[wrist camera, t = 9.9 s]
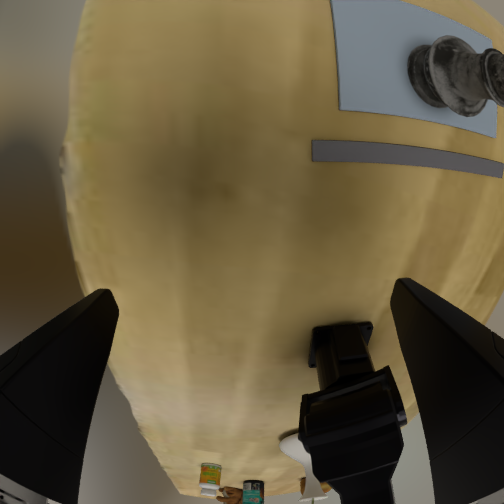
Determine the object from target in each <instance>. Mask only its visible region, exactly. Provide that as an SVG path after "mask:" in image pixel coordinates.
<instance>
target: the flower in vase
mask: <svg viewBox="0 0 504 504" xmlns="http://www.w3.org/2000/svg"><path fill="white" fill-rule="evenodd" d="M279 447H280V449H281V451H282V452H284V453H285V454H286V455H288V456H289V457H291V458H293V459H295V460H296V461H298V462H300V463H301V464H302V465H303V466H304V468H305V473H306V484H305V490H304V493H303V495H302V497H301V498H300V499H299V501H312V504H314V500H320V499H324V498H328V496H327V495H326V494H325V493H324V492H323V490H322V488H321V486H320V482H319V481H318V480H317V479H316V477H315V476H314V475H313V472H312V463H311V456H310V454H308V453H307V452H306V451H305V449H304V447H303V444H302V442H300V441H299V440H298V433H296V434H293V435H291V436H288V437H286V438H284V439H283V440H282V441H281V442H280V444H279Z"/></svg>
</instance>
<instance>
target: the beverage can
mask: <svg viewBox="0 0 504 504" xmlns="http://www.w3.org/2000/svg"><path fill="white" fill-rule="evenodd" d="M242 504H264V483H263V482H262V481H259V480H247V481H245V482H244V483H243V501H242Z"/></svg>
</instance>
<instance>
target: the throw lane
mask: <svg viewBox="0 0 504 504" xmlns="http://www.w3.org/2000/svg"><path fill="white" fill-rule="evenodd" d="M330 3H331V10H332V17H333V26H334V35H335V45H336V57H337V72H338V91H339V110H350V111H362V112H372V113H381V114H389V115H397V116H403V117H410V118H416V119H421V120H426V121H432V122H436V123H441V124H446V125H450V126H454V127H458V128H462V129H466V130H470V131H473V132H477V133H480V134H484V135H487V136H490V137H493V138H496V128H497V103H495V102H494V101H493V100H488V101H487V103H486V106H485V108H484V109H483V110H482V111H481V113H479V114H478V115H476V116H473V117H465V116H461V115H458V114H457V113H455V112H454V111H452V110H451V109H450V108H449V107H446V108H437V107H432V106H431V105H429V104H427V103H425V102H424V101H423V100H422V99H421V98H420V97H419V96H418V95H417V93H416V92H415V91H414V89H413V87H412V85H411V83H410V80H409V76H408V71H407V62H408V57H409V55H410V53H411V51H412V50H413V49H414V48H416V47H417V46H420V45H432V44H433V42H434V41H436V40H437V39H438V38H439V37H442V36H445V35H450V36H456V37H458V38H460V39H462V40H464V41H465V42H466V43H468V44H469V45H470V46H471V47H472V48H473V49H474V50H475V51H476V53H477V54H479V53H483V52H484V51H485V50H486V49H488V48H493V47H492V41H491V39H489V38H487V37H486V36H484V35H482V34H480V33H478V32H476V31H474V30H473V29H471V28H469V27H467V26H465V25H462V24H460V23H458V22H456V21H454V20H452V19H449V18H447V17H445V16H442V15H440V14H437V13H435V12H432V11H430V10H427V9H424V8H421V7H419V6H416V5H413V4H409V3H406V2H403V1H400V0H330ZM312 161H335V162H368V163H386V164H400V165H412V166H422V167H432V168H440V169H448V170H456V171H463V172H469V173H475V174H481V175H487V176H492V177H498V178H502V176H503V169H504V164H503V163H500V162H496V161H492V160H488V159H484V158H479V157H475V156H470V155H465V154H460V153H454V152H449V151H443V150H436V149H430V148H423V147H415V146H407V145H398V144H388V143H376V142H361V141H340V140H312Z"/></svg>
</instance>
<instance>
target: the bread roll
mask: <svg viewBox="0 0 504 504" xmlns="http://www.w3.org/2000/svg"><path fill="white" fill-rule="evenodd" d="M300 483H301V484H300V486H301V494H302V495H303V493H304V490H305V484H306V478H304V479H302V481H301V482H300ZM320 486H321V488H322V490H323V492H324V493H326V492H328V491H330V490H331V489H332V487H330V486H329V485H328V484H327V483H326V482H323V483H320Z"/></svg>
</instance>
